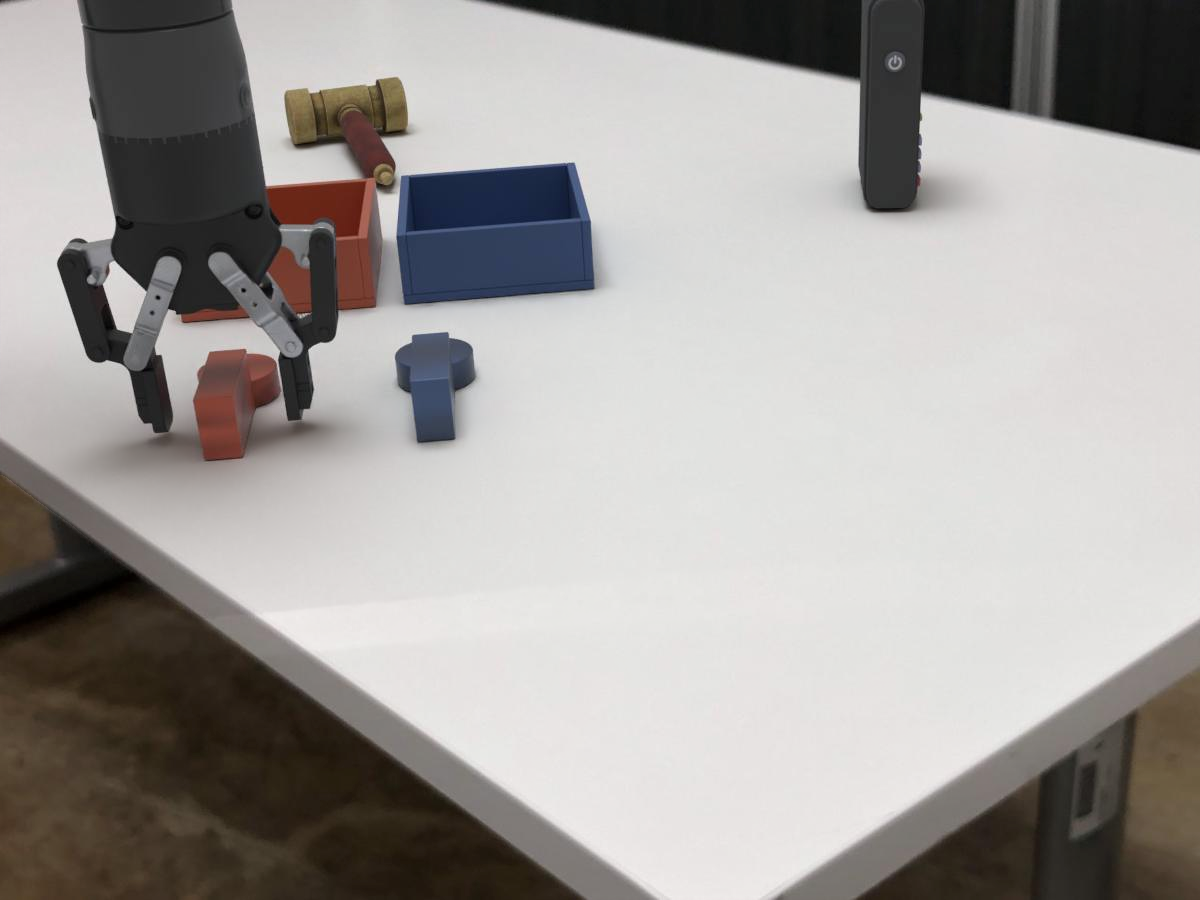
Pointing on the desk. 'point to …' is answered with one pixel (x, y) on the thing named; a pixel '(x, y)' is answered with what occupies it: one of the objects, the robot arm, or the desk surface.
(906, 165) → the card reader
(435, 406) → the blue disc with bar
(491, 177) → the blue bin
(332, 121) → the gavel
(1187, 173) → the desk surface
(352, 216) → the red bin
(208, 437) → the red bar with disc
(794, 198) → the desk surface
